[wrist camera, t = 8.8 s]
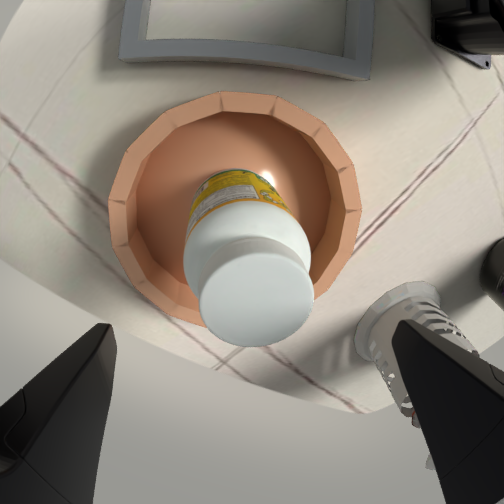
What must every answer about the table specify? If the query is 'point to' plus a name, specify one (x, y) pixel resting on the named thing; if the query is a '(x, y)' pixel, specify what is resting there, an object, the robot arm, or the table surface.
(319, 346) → the table surface
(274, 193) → the supplement bottle
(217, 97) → the bowl
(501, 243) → the supplement bottle
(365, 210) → the table surface
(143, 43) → the open rectangular frame
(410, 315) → the french press
